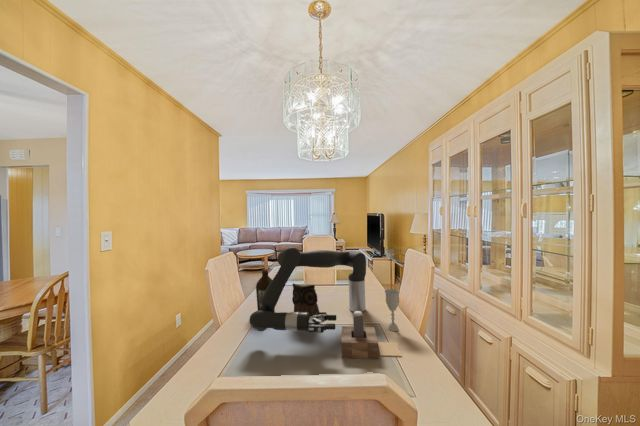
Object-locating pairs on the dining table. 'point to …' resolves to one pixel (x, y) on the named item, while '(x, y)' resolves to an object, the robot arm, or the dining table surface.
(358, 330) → the plug
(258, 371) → the dining table surface
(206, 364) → the dining table surface
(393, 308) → the chalice
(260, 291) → the olive oil
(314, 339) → the dining table surface
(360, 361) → the dining table surface
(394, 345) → the pad
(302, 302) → the brown owl figurine
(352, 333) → the wooden square socket block
